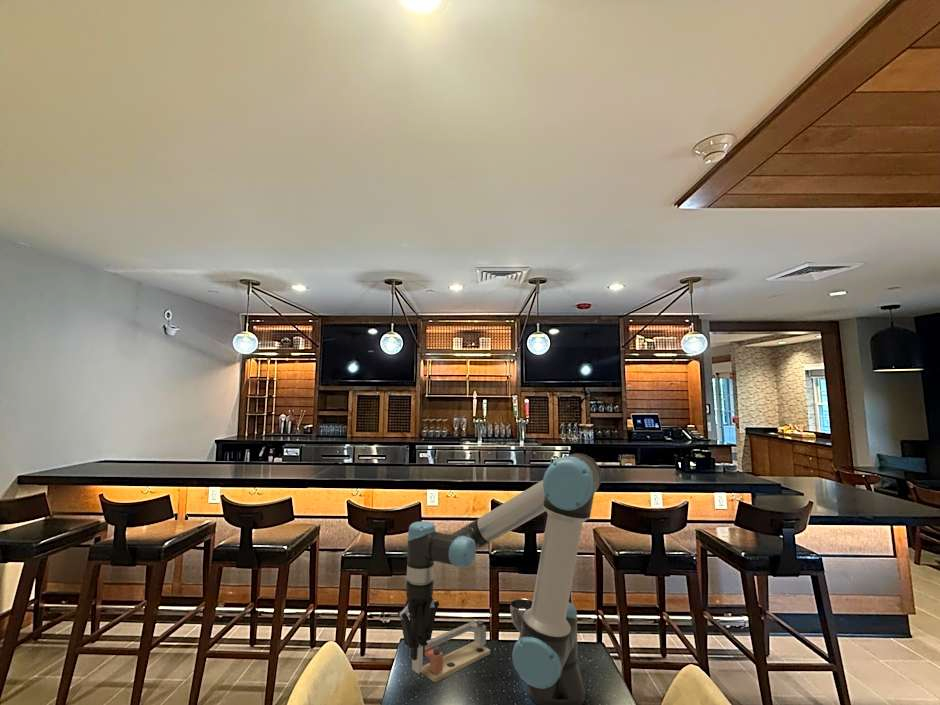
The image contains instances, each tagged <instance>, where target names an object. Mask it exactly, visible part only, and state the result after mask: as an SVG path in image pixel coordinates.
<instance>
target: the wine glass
mask: <svg viewBox="0 0 940 705" xmlns="http://www.w3.org/2000/svg"><path fill="white" fill-rule="evenodd" d="M531 606H532V600H531V599H527V598H516V599H513V600H511V601H510V607H509V609H510V616H511V618H510V619H511V621H512V624H513V625H514V627H515V628H516V630H517V631H518V633H520V632H521V626H522V621H523V616H524V612H525V611H526V610H528V609H530V608H531Z"/></svg>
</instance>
